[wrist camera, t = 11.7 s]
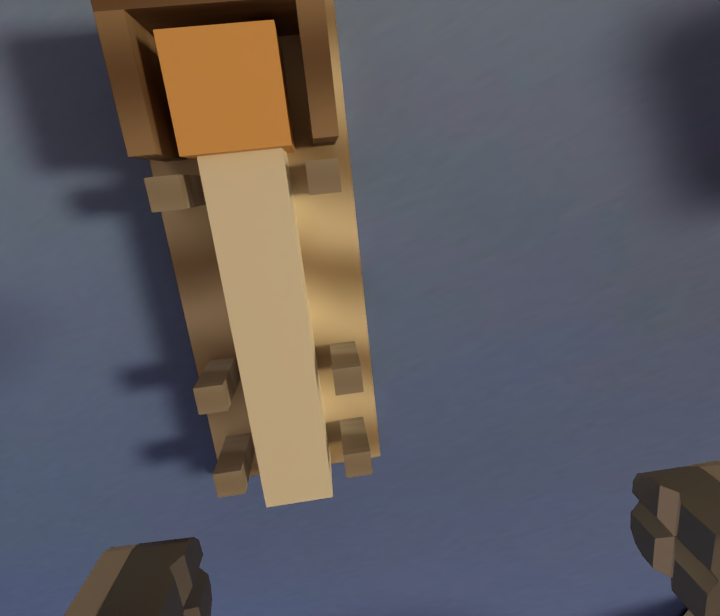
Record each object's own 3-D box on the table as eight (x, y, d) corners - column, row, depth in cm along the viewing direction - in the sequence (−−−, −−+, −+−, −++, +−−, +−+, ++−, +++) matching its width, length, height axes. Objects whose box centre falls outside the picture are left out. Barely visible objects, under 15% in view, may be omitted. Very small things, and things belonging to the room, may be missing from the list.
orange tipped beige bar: (337, 456, 30) (342, 507, 26) (265, 467, 30) (255, 521, 25) (282, 52, 23) (273, 19, 18) (186, 61, 23) (153, 29, 18)
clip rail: (378, 447, 32) (392, 506, 26) (224, 470, 31) (204, 536, 25) (332, 2, 24) (338, -56, 18) (123, 18, 23) (60, -36, 17)
